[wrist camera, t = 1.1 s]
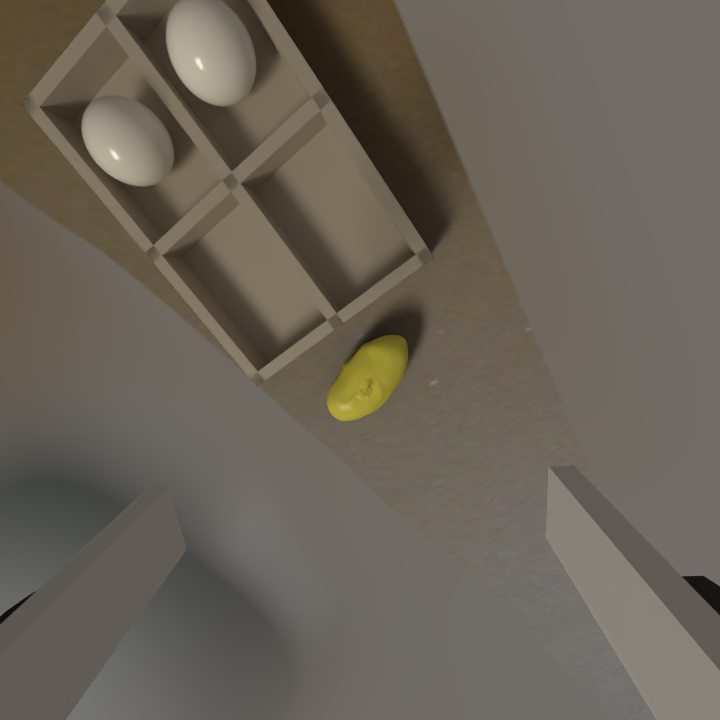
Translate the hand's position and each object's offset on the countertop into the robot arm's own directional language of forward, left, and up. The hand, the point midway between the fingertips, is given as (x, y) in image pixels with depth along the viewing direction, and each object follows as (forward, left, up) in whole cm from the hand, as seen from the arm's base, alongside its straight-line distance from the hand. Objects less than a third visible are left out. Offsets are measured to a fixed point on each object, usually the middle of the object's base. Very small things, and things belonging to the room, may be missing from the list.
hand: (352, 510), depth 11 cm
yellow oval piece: (0, 0, -15) cm, 15 cm away
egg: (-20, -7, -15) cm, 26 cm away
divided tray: (-14, -7, -15) cm, 22 cm away
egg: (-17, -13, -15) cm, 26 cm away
